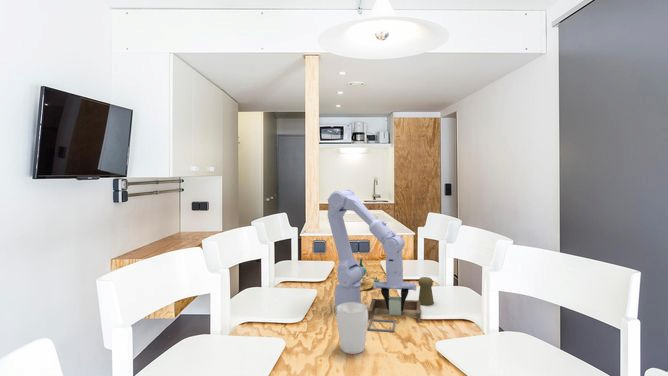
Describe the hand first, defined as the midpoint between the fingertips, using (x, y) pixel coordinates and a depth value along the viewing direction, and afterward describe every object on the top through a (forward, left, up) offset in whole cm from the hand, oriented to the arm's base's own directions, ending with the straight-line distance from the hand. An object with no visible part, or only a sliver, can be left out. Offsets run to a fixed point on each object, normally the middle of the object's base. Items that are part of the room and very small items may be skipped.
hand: (395, 309), depth 129 cm
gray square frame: (-3, -12, -3) cm, 13 cm away
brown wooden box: (0, -1, -3) cm, 3 cm away
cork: (+11, +11, -3) cm, 16 cm away
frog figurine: (-16, +31, -3) cm, 35 cm away
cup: (-10, -26, -3) cm, 28 cm away
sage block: (0, 0, -1) cm, 1 cm away
